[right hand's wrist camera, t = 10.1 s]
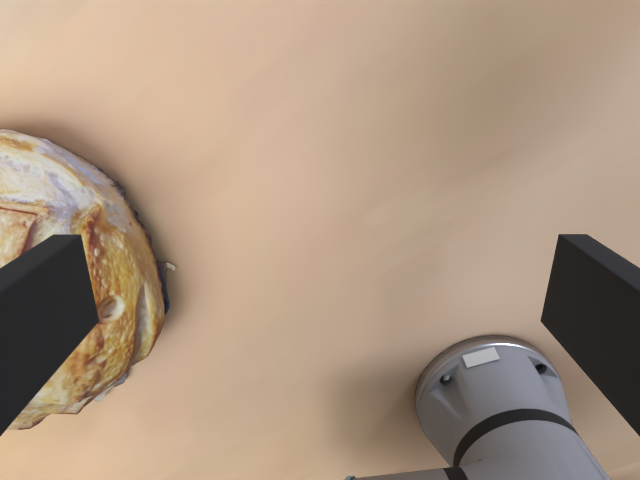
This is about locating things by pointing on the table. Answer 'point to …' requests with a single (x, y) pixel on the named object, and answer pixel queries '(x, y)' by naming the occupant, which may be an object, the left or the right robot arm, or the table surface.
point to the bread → (102, 259)
